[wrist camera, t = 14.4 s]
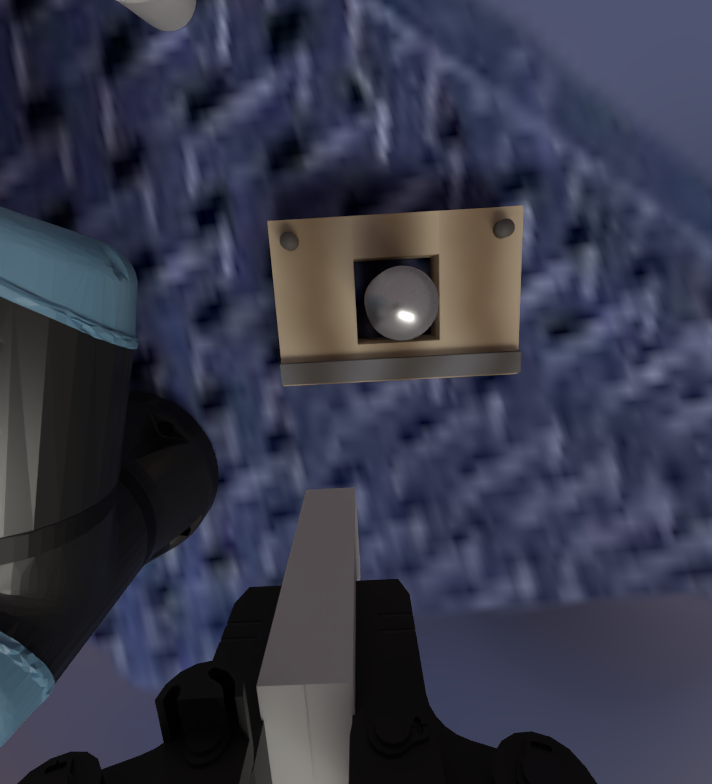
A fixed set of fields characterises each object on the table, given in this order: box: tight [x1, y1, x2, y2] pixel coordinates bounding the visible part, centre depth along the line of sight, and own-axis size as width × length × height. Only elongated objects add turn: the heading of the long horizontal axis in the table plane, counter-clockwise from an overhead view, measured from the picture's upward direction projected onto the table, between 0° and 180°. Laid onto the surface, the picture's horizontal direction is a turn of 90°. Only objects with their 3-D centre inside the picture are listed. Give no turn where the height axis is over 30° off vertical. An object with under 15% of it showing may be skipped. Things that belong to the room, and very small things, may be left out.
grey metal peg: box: [364, 266, 439, 340], centre depth 30 cm, size 4×4×10 cm
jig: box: [267, 206, 523, 386], centre depth 33 cm, size 18×12×5 cm, turn 93°
